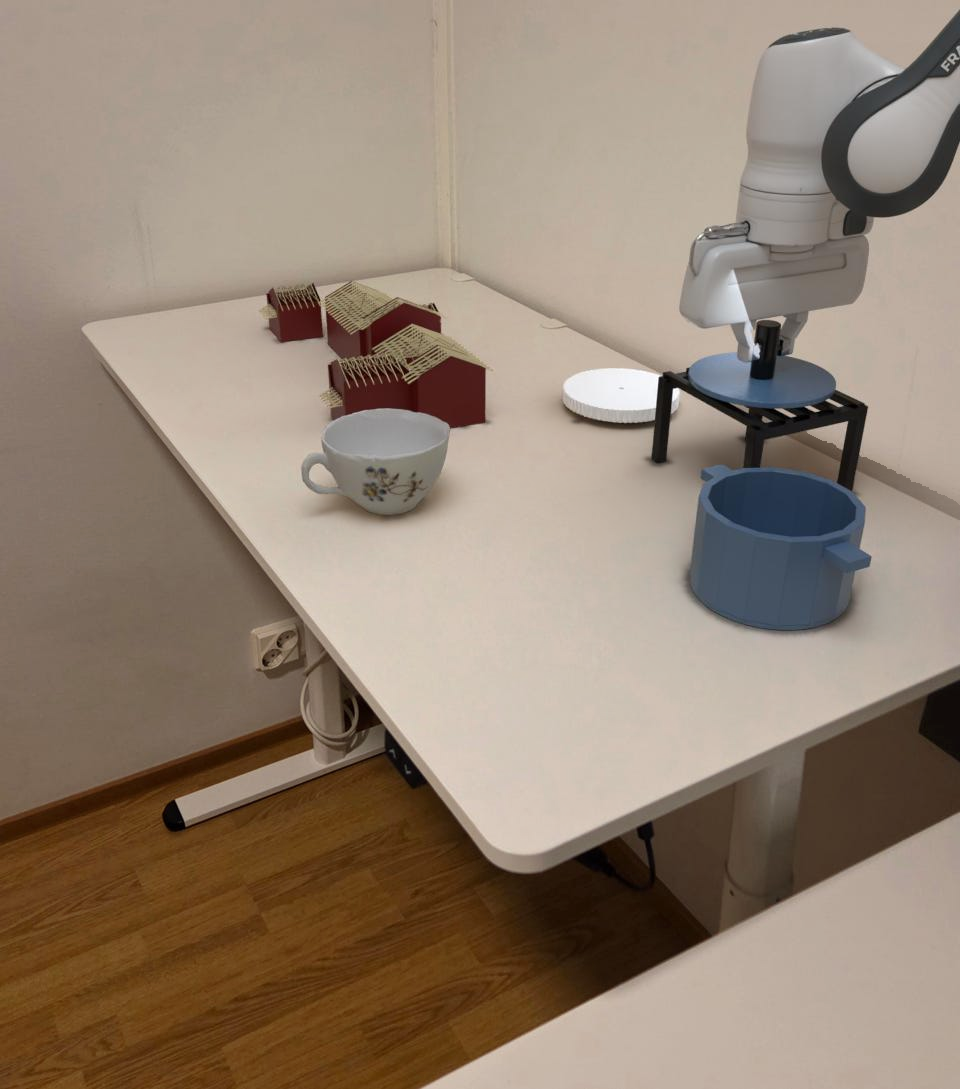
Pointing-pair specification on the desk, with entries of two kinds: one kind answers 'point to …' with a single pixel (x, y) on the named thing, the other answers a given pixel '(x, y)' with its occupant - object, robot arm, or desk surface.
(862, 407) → the rack
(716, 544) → the pot
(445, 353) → the toy houses
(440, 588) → the desk surface
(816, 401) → the lid
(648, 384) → the plastic lid
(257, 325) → the desk surface
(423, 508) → the desk surface
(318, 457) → the teacup
